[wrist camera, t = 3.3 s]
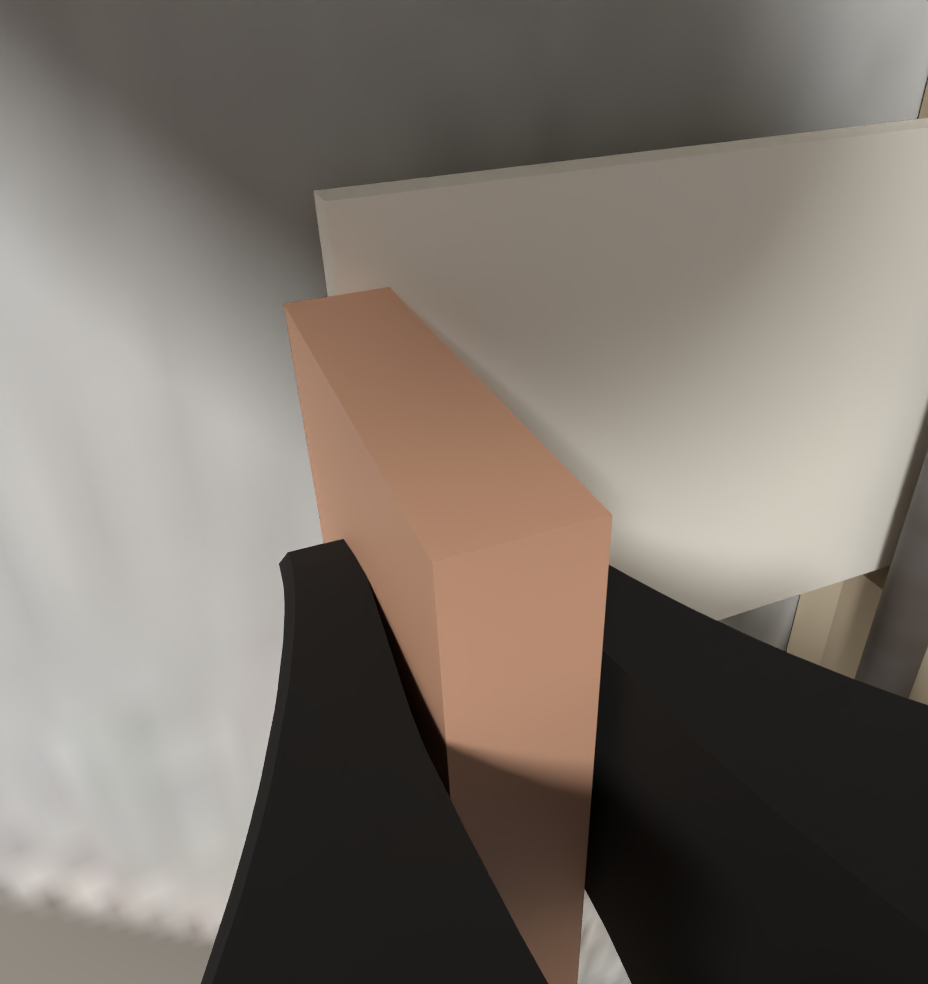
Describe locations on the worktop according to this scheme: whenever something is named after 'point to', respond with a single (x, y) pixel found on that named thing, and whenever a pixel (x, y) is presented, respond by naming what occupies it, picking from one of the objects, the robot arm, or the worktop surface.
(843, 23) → the worktop surface
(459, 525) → the beige angled piece
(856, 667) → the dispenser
